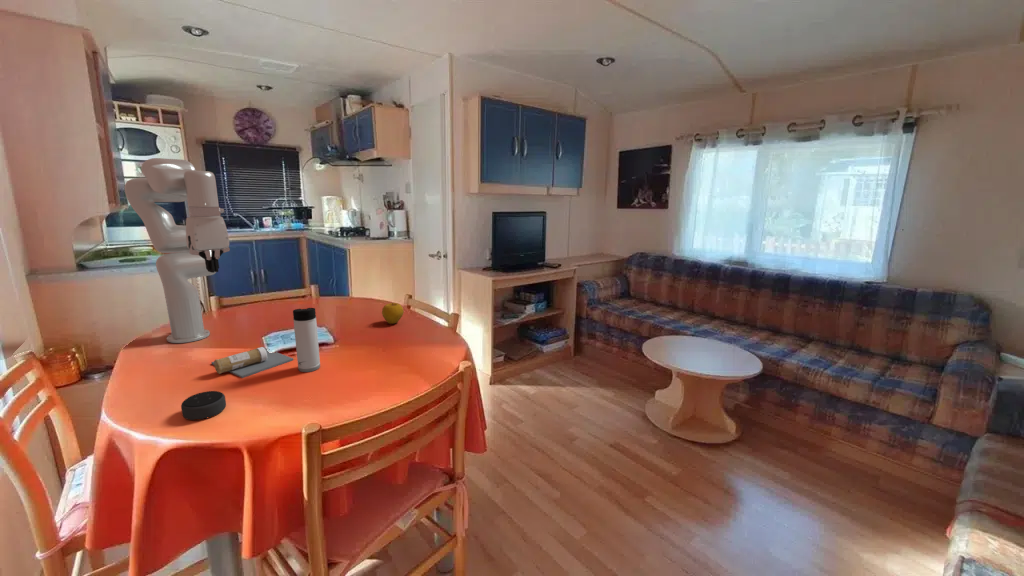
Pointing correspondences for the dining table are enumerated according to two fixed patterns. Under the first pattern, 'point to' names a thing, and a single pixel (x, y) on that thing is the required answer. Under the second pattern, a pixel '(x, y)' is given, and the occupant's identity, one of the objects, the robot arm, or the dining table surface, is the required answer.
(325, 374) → the dining table surface
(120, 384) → the dining table surface
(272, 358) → the rubber mat
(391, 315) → the apple
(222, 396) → the smart speaker
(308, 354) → the travel mug
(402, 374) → the dining table surface
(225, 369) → the sprinkles bottle
